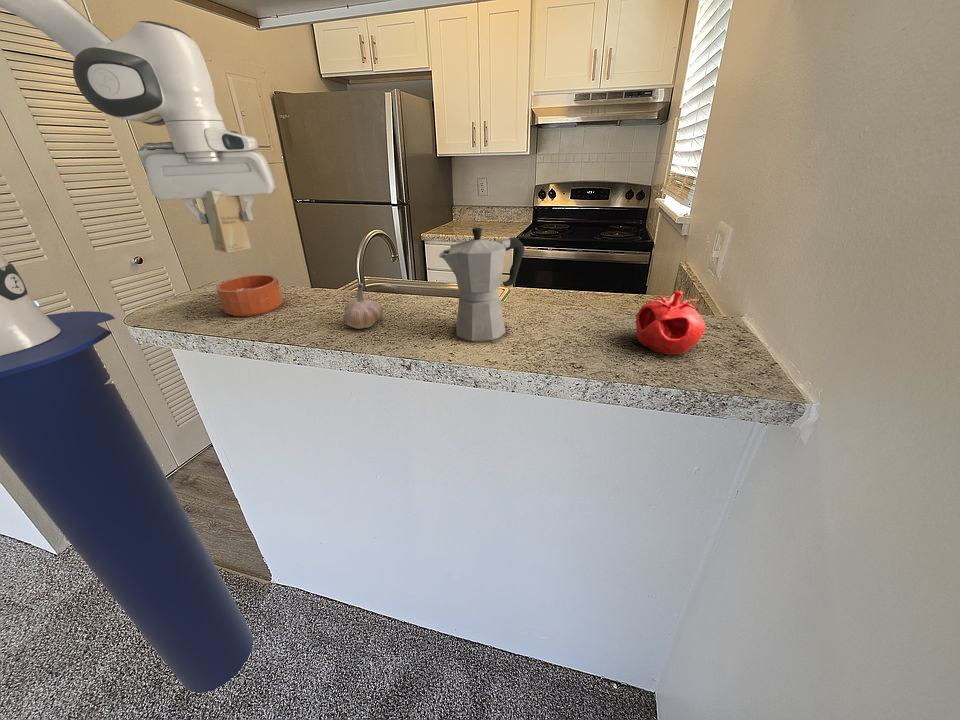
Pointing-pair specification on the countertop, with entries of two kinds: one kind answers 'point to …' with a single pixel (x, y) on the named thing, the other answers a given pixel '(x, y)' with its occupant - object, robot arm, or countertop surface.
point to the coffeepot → (481, 284)
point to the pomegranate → (669, 325)
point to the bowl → (250, 295)
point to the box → (226, 222)
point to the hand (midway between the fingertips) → (227, 222)
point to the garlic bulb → (362, 311)
